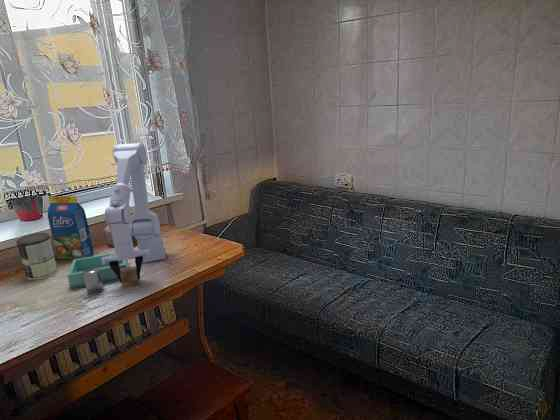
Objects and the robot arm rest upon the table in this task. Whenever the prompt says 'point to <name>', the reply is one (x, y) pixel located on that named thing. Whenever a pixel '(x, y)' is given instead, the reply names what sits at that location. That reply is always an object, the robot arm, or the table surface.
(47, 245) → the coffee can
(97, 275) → the metal cylinder
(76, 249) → the blue food package
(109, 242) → the food item
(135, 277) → the walnut cube
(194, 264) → the table surface
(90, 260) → the tote
